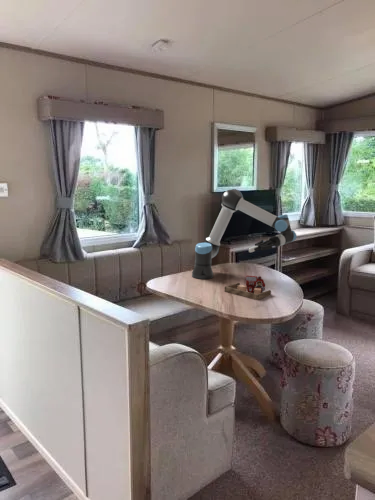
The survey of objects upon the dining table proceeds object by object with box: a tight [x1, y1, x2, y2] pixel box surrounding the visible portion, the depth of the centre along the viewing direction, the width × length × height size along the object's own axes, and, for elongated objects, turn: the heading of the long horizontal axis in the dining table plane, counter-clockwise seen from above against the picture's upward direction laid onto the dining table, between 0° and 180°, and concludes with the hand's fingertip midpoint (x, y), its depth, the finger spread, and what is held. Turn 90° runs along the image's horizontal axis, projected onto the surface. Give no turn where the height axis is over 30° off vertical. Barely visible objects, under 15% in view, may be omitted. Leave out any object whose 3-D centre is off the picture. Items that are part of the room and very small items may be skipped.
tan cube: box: [253, 288, 261, 294], centre depth 252 cm, size 4×4×4 cm
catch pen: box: [224, 282, 272, 301], centre depth 255 cm, size 24×15×3 cm, turn 49°
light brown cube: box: [236, 284, 247, 292], centre depth 257 cm, size 4×4×4 cm
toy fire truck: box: [245, 275, 266, 293], centre depth 257 cm, size 7×12×10 cm, turn 79°
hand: (249, 250), depth 266 cm, fingers closed
